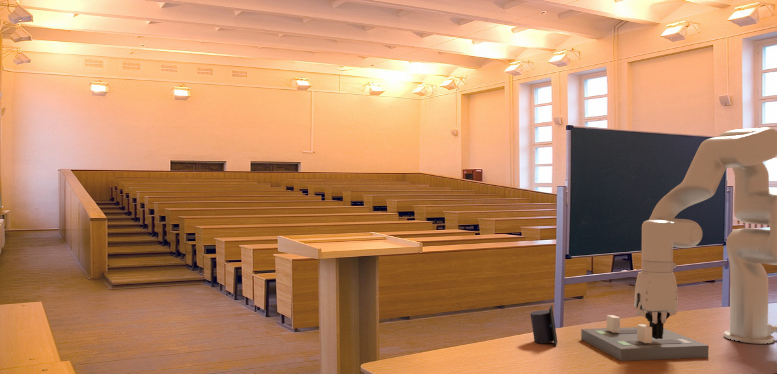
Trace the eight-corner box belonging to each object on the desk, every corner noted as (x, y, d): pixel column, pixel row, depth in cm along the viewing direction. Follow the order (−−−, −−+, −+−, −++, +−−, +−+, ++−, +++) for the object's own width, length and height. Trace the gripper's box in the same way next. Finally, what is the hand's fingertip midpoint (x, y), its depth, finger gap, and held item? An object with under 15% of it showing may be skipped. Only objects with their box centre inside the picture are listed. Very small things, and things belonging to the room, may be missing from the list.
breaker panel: (659, 336, 186) (659, 326, 185) (708, 357, 164) (708, 345, 164) (581, 339, 182) (581, 328, 182) (621, 360, 160) (621, 348, 160)
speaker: (564, 341, 178) (560, 304, 178) (555, 347, 174) (551, 308, 174) (539, 340, 183) (535, 304, 183) (530, 345, 178) (526, 308, 179)
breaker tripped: (644, 339, 168) (644, 324, 168) (651, 342, 165) (651, 327, 165) (637, 339, 168) (637, 324, 168) (644, 343, 164) (644, 327, 164)
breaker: (613, 329, 180) (613, 315, 180) (619, 332, 176) (619, 317, 176) (606, 329, 180) (606, 315, 180) (613, 332, 176) (613, 318, 176)
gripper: (674, 265, 172) (673, 333, 172) (622, 266, 169) (622, 335, 169) (692, 269, 164) (691, 340, 164) (638, 269, 162) (637, 342, 162)
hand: (656, 337), depth 167 cm, fingers closed
